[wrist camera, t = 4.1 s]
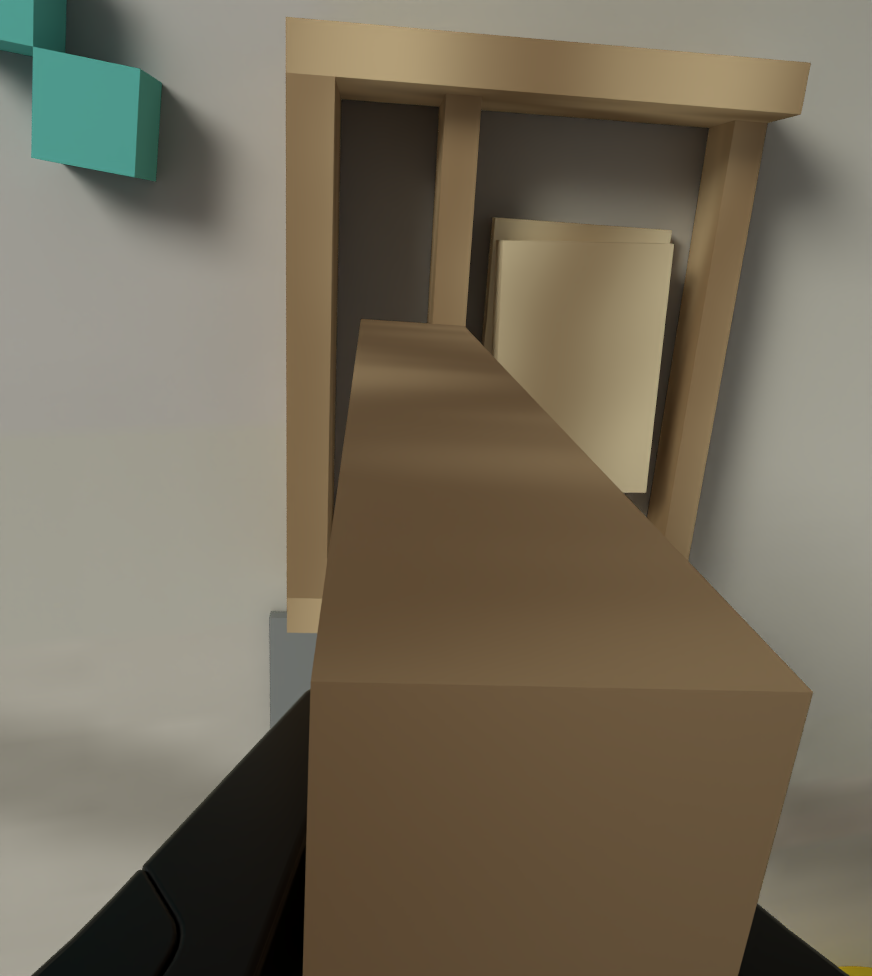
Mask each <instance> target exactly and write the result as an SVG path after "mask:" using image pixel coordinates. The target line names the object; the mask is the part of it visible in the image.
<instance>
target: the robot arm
mask: <svg viewBox="0 0 872 976" xmlns="http://www.w3.org/2000/svg"><path fill="white" fill-rule="evenodd" d="M309 723H310V689H309V690H307V691H306V692H305V693H304V694H303V695H302V696H301V697H300V698H299V699H298V700H297V701H296V702H295V703H294V704H293V706H292V707H291V708H290V709H289V710H288V711H287V712H286V713H285V714H284V715H283V716H282V717H281V718H280V719H279V721H278V722H277V723H276V724H275V725H274V726H273V727H272V728H271V729H270V730H269V731H268V732H267V733H266V734H265V736H264V737H263V738H262V739H261V740H260V741H259V742H258V743H257V744H256V745H255V746H254V747H253V748H252V749H251V750H250V752H249V753H248V754H247V755H246V756H245V757H244V758H243V759H242V760H241V761H240V762H239V763H238V764H237V765H236V767H235V768H234V769H233V770H232V771H231V772H230V773H229V774H228V775H227V776H226V777H225V778H224V779H223V780H222V782H221V783H220V784H219V785H218V786H217V787H216V788H215V789H214V790H213V791H212V792H211V793H210V794H209V795H208V797H207V798H206V799H205V800H204V801H203V802H202V803H201V804H200V805H199V806H198V807H197V808H196V809H195V810H194V811H193V813H192V814H191V815H190V816H189V817H188V818H187V819H186V820H185V821H184V822H183V823H182V824H181V825H180V826H179V828H178V829H177V830H176V831H175V832H174V833H173V834H172V835H171V836H170V837H169V838H168V839H167V840H166V841H165V843H164V844H163V845H162V846H161V847H160V848H159V849H158V850H157V851H156V852H155V853H154V854H153V855H152V856H151V857H150V859H149V860H148V861H147V862H146V863H145V864H144V865H143V868H142V870H138V871H137V872H136V873H135V874H134V875H133V876H132V877H131V878H130V879H129V881H128V882H127V883H126V884H125V885H124V886H123V887H122V888H121V889H120V890H119V891H118V892H117V893H116V894H115V896H114V897H113V898H112V899H111V900H110V901H109V902H108V903H107V904H106V905H105V906H104V907H103V908H102V909H101V910H100V911H99V912H98V913H97V914H96V915H95V916H94V917H93V918H92V919H91V920H90V921H89V922H88V923H87V924H86V925H85V926H84V927H83V928H82V929H81V930H80V931H79V932H78V933H77V934H76V935H75V936H74V937H73V938H72V939H71V940H70V941H69V942H68V943H66V944H65V945H64V946H63V947H62V948H61V949H60V950H59V951H58V952H57V953H56V954H54V955H53V956H52V957H51V958H50V959H49V960H48V961H47V962H46V963H45V964H43V965H42V966H41V967H40V968H39V969H38V970H37V971H36V972H35V973H34V974H33V975H31V976H303V945H304V908H305V871H306V834H307V797H308V760H309ZM738 976H849V975H848V974H846V973H845V972H844V971H842V970H841V969H840V968H839V967H837V966H836V965H835V964H833V963H832V962H831V961H829V960H828V959H827V958H825V957H824V956H823V955H822V954H820V953H819V952H818V951H816V950H815V949H814V948H812V947H811V946H810V945H808V944H807V943H806V942H804V941H803V940H802V939H801V938H799V937H798V936H797V935H795V934H794V933H793V932H791V931H790V930H789V929H788V928H786V927H785V926H784V925H783V924H782V923H780V922H779V921H778V920H777V919H776V918H774V917H773V916H772V915H771V914H769V913H768V912H767V911H766V910H765V909H763V908H762V907H761V906H760V905H759V904H757V906H756V909H755V913H754V917H753V921H752V924H751V928H750V932H749V936H748V939H747V943H746V947H745V951H744V955H743V958H742V962H741V966H740V970H739V973H738Z"/></svg>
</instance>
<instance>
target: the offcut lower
mask: <svg viewBox="0 0 872 976" xmlns="http://www.w3.org/2000/svg"><path fill="white" fill-rule="evenodd" d="M671 233H672V230H660V229H646V228H633V227H619V226H605V225H591V224H577V223H564V222H550V221H536V220H522V219H508V218H492V227H491V238H490V250H489V262H488V274H487V285H486V297H485V309H484V320H483V332H482V345H483V346H484V347H485V348H486V349H487V350H488V351H489V353H490V354H491V348H492V324H493V301H494V278H495V255H496V240H525V241H574V242H624V243H664V244H670V240H671Z"/></svg>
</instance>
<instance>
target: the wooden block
mask: <svg viewBox="0 0 872 976" xmlns="http://www.w3.org/2000/svg"><path fill="white" fill-rule="evenodd" d="M812 694H813V692H812V691H811V690H810V689H809V688H808V687H807V686H806V684H805V683H804V682H803V681H802V680H801V679H800V678H799V677H798V676H797V675H796V674H795V673H794V672H793V671H792V670H791V669H790V668H789V667H788V666H787V665H786V663H785V662H784V661H783V660H782V659H781V658H780V657H779V656H778V655H777V654H776V653H775V652H774V651H773V650H772V649H771V648H770V647H769V646H768V645H767V644H766V642H765V641H764V640H763V639H762V638H761V637H760V636H759V635H758V634H757V633H756V632H755V631H754V630H753V629H752V628H751V627H750V626H749V625H748V624H747V622H746V621H745V620H744V619H743V618H742V617H741V616H740V615H739V614H738V613H737V612H736V611H735V610H734V609H733V608H732V607H731V606H730V605H729V604H728V603H727V601H726V600H725V599H724V598H723V597H722V596H721V595H720V594H719V593H718V592H717V591H716V590H715V589H714V588H713V587H712V586H711V585H710V584H709V583H708V582H707V580H706V579H705V578H704V577H703V576H702V575H701V574H700V573H699V572H698V571H697V570H696V569H695V568H694V567H693V566H692V565H691V564H690V563H689V562H688V561H687V559H686V558H685V557H684V556H683V555H682V554H681V553H680V552H679V551H678V550H677V549H676V548H675V547H674V546H673V545H672V544H671V543H670V542H669V541H668V539H667V538H666V537H665V536H664V535H663V534H662V533H661V532H660V531H659V530H658V529H657V528H656V527H655V526H654V525H653V524H652V523H651V522H650V521H649V520H648V518H647V517H646V516H645V515H644V514H643V513H642V512H641V511H640V510H639V509H638V508H637V507H636V506H635V505H634V504H633V503H632V502H631V501H630V500H629V499H628V497H627V496H626V495H625V494H624V493H623V492H622V491H621V490H620V489H619V488H618V487H617V486H616V485H615V484H614V483H613V482H612V481H611V480H610V479H609V478H608V476H607V475H606V474H605V473H604V472H603V471H602V470H601V469H600V468H599V467H598V466H597V465H596V464H595V463H594V462H593V461H592V460H591V459H590V458H589V457H588V455H587V454H586V453H585V452H584V451H583V450H582V449H581V448H580V447H579V446H578V445H577V444H576V443H575V442H574V441H573V440H572V439H571V438H570V437H569V435H568V434H567V433H566V432H565V431H564V430H563V429H562V428H561V427H560V426H559V425H558V424H557V423H556V422H555V421H554V420H553V419H552V418H551V417H550V416H549V414H548V413H547V412H546V411H545V410H544V409H543V408H542V407H541V406H540V405H539V404H538V403H537V402H536V401H535V400H534V399H533V398H532V397H531V396H530V395H529V393H528V392H527V391H526V390H525V389H524V388H523V387H522V386H521V385H520V384H519V383H518V382H517V381H516V380H515V379H514V378H513V377H512V376H511V375H510V374H509V372H508V371H507V370H506V369H505V368H504V367H503V366H502V365H501V364H500V363H499V362H498V361H497V360H496V359H495V358H494V357H493V356H492V355H491V354H490V353H489V351H488V350H487V349H486V348H485V347H484V346H483V345H482V344H481V343H480V342H479V341H478V340H477V339H476V338H475V337H474V336H473V335H472V334H471V333H470V331H469V330H468V329H467V328H466V327H465V326H459V325H445V324H430V323H415V322H400V321H385V320H371V319H361V322H360V329H359V336H358V344H357V351H356V358H355V365H354V372H353V380H352V387H351V394H350V401H349V409H348V416H347V423H346V430H345V437H344V445H343V452H342V459H341V466H340V473H339V481H338V488H337V495H336V502H335V509H334V517H333V524H332V531H331V538H330V546H329V553H328V560H327V567H326V574H325V582H324V589H323V596H322V603H321V610H320V618H319V625H318V632H317V639H316V646H315V654H314V661H313V668H312V675H311V686H310V723H309V760H308V797H307V834H306V871H305V908H304V945H303V976H738V973H739V970H740V966H741V962H742V958H743V955H744V951H745V947H746V943H747V939H748V936H749V932H750V928H751V924H752V921H753V917H754V913H755V909H756V906H757V902H758V898H759V894H760V890H761V887H762V883H763V879H764V875H765V872H766V868H767V864H768V860H769V856H770V853H771V849H772V845H773V841H774V838H775V834H776V830H777V826H778V823H779V819H780V815H781V811H782V807H783V804H784V800H785V796H786V792H787V789H788V785H789V781H790V777H791V773H792V770H793V766H794V762H795V758H796V755H797V751H798V747H799V743H800V740H801V736H802V732H803V728H804V724H805V721H806V717H807V713H808V709H809V706H810V702H811V698H812Z"/></svg>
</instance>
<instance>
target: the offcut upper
mask: <svg viewBox="0 0 872 976" xmlns="http://www.w3.org/2000/svg"><path fill="white" fill-rule="evenodd" d="M673 249H674V244H664V243H624V242H574V241H525V240H496V255H495V278H494V301H493V324H492V348H491V355H492V356H493V357H494V358H495V359H496V360H497V361H498V362H499V363H500V364H501V365H502V366H503V367H504V368H505V369H506V370H507V371H508V372H509V374H510V375H511V376H512V377H513V378H514V379H515V380H516V381H517V382H518V383H519V384H520V385H521V386H522V387H523V388H524V389H525V390H526V391H527V392H528V393H529V395H530V396H531V397H532V398H533V399H534V400H535V401H536V402H537V403H538V404H539V405H540V406H541V407H542V408H543V409H544V410H545V411H546V412H547V413H548V414H549V416H550V417H551V418H552V419H553V420H554V421H555V422H556V423H557V424H558V425H559V426H560V427H561V428H562V429H563V430H564V431H565V432H566V433H567V434H568V435H569V437H570V438H571V439H572V440H573V441H574V442H575V443H576V444H577V445H578V446H579V447H580V448H581V449H582V450H583V451H584V452H585V453H586V454H587V455H588V457H589V458H590V459H591V460H592V461H593V462H594V463H595V464H596V465H597V466H598V467H599V468H600V469H601V470H602V471H603V472H604V473H605V474H606V475H607V476H608V478H609V479H610V480H611V481H612V482H613V483H614V484H615V485H616V486H617V487H618V488H619V489H620V490H621V491H622V492H623V493H646V488H647V479H648V470H649V462H650V453H651V444H652V435H653V426H654V417H655V409H656V400H657V391H658V382H659V373H660V364H661V356H662V347H663V338H664V329H665V320H666V311H667V302H668V294H669V285H670V276H671V267H672V258H673Z"/></svg>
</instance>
